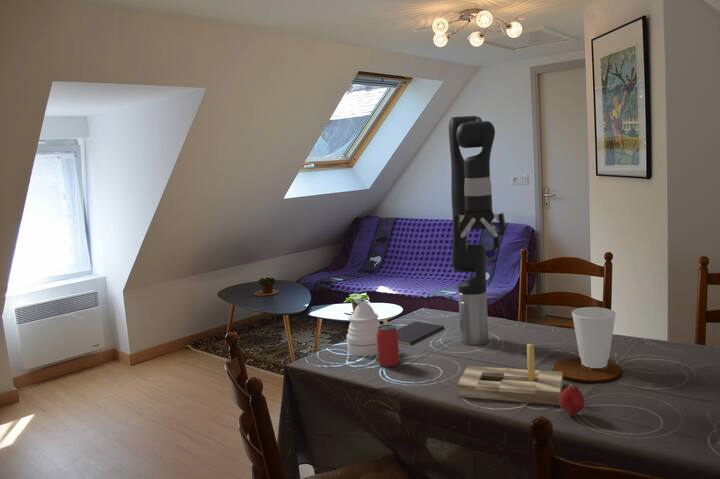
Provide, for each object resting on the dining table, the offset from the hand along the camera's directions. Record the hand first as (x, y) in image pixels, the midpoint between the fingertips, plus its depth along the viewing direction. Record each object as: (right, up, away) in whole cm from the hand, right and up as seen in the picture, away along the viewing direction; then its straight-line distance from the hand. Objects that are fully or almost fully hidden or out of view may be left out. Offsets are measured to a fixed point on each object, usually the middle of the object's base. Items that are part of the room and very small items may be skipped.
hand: (480, 249), depth 176 cm
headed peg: (+11, -38, -12) cm, 41 cm away
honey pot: (-32, -34, +32) cm, 57 cm away
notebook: (-15, -32, +45) cm, 57 cm away
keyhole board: (+6, -38, -10) cm, 40 cm away
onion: (+17, -40, -28) cm, 51 cm away
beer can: (-25, -36, +16) cm, 47 cm away
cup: (+34, -34, +3) cm, 48 cm away
